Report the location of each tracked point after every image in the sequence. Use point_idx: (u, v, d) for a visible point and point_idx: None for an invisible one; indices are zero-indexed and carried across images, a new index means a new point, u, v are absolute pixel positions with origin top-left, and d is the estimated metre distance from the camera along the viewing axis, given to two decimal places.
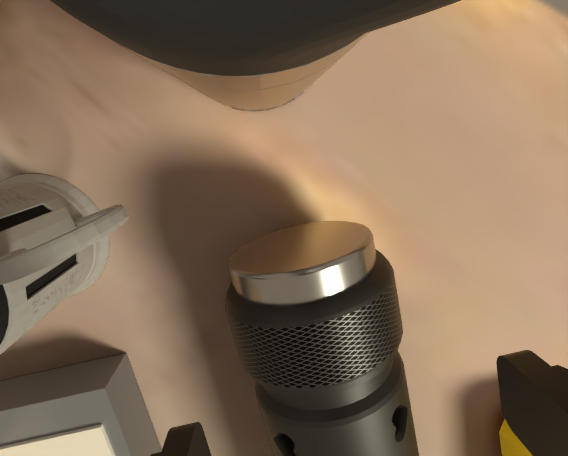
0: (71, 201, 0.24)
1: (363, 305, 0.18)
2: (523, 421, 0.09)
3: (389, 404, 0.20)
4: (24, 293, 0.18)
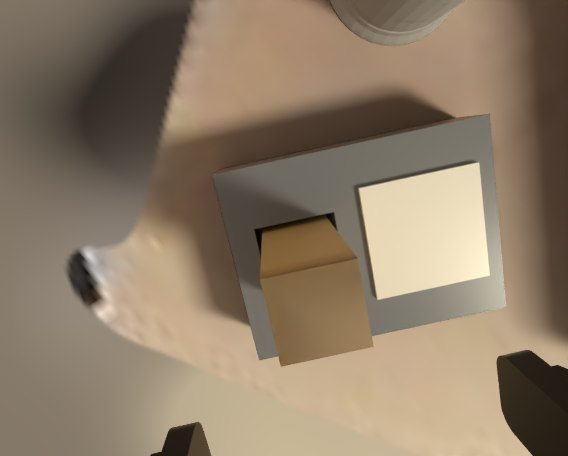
0: None
1: None
2: (523, 421, 0.09)
3: None
4: None
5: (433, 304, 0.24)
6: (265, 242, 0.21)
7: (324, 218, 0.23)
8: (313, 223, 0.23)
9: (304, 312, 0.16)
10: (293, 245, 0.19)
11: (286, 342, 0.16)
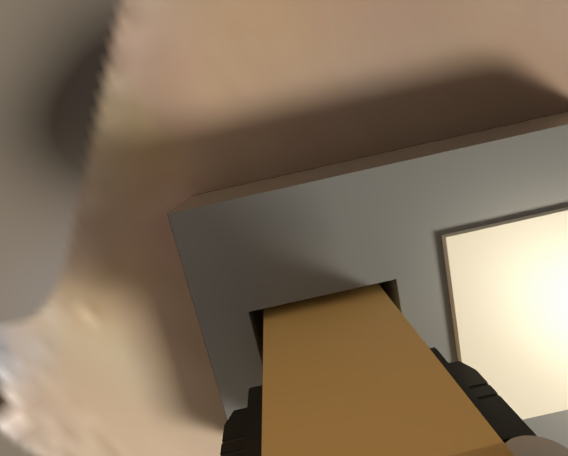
0: None
1: None
2: None
3: None
4: None
5: (565, 433, 0.14)
6: (270, 352, 0.10)
7: (375, 287, 0.13)
8: (358, 300, 0.12)
9: None
10: (333, 380, 0.09)
11: None
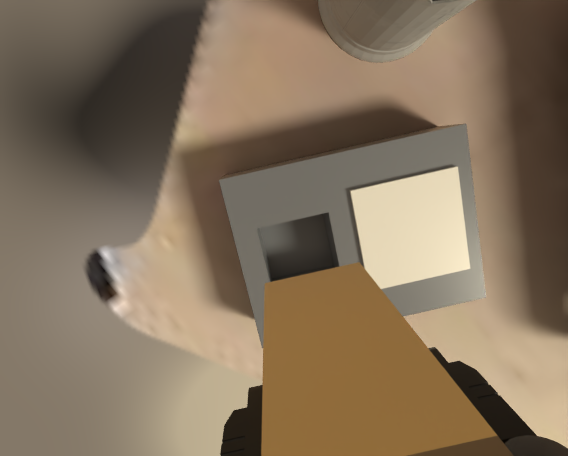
0: None
1: None
2: None
3: None
4: None
5: (420, 295, 0.27)
6: (270, 350, 0.11)
7: (374, 288, 0.13)
8: (357, 300, 0.12)
9: None
10: (331, 377, 0.09)
11: None
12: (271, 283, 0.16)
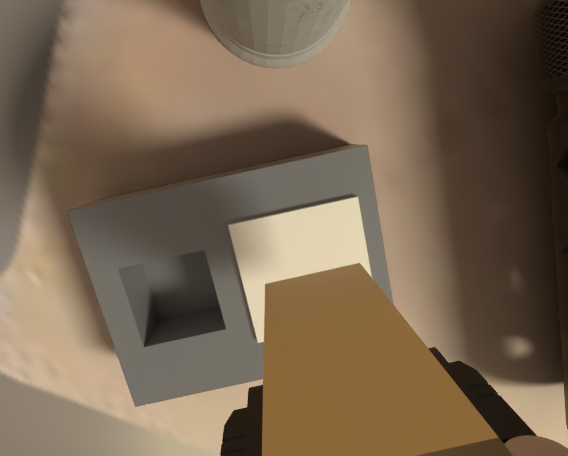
0: None
1: None
2: None
3: None
4: None
5: None
6: (271, 351, 0.11)
7: (375, 288, 0.13)
8: (357, 301, 0.12)
9: None
10: (332, 378, 0.09)
11: None
12: (271, 284, 0.16)
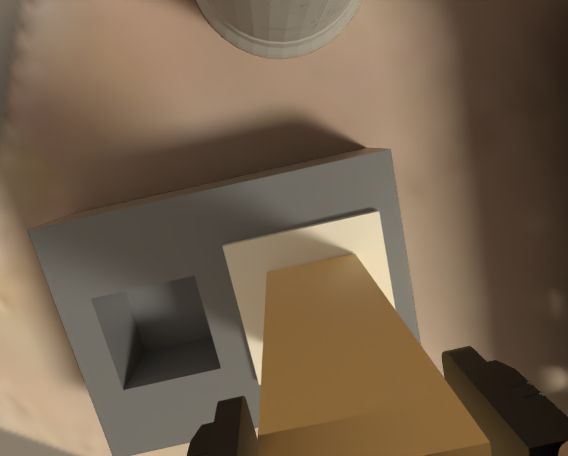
0: None
1: None
2: None
3: None
4: None
5: None
6: (270, 330, 0.12)
7: (366, 276, 0.14)
8: (350, 287, 0.14)
9: None
10: (322, 351, 0.10)
11: None
12: (273, 272, 0.17)
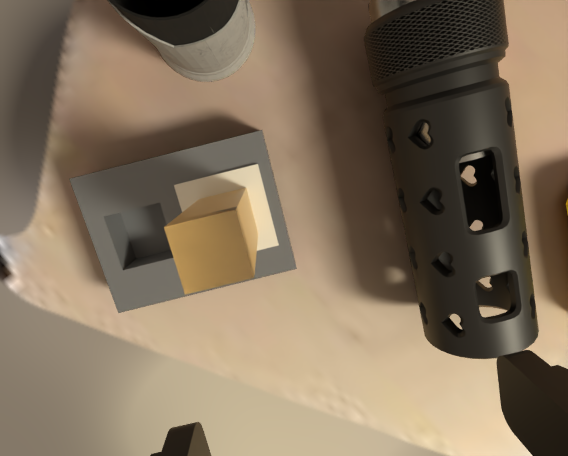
0: None
1: None
2: (523, 421, 0.09)
3: (503, 88, 0.26)
4: None
5: None
6: (187, 209, 0.26)
7: (242, 192, 0.29)
8: (231, 195, 0.28)
9: (199, 252, 0.21)
10: (204, 208, 0.25)
11: (187, 275, 0.22)
12: (201, 198, 0.32)
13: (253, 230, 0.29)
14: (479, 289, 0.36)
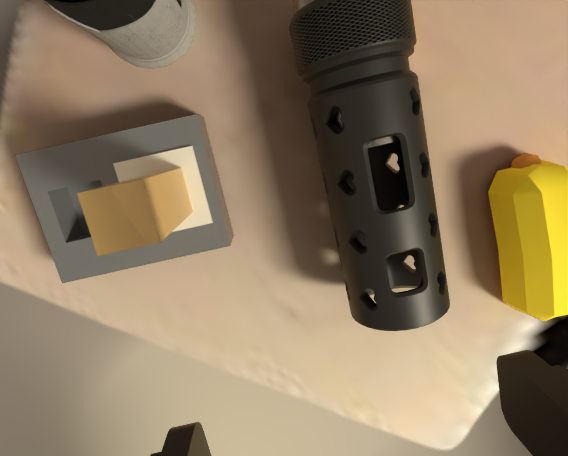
0: None
1: None
2: (523, 421, 0.09)
3: (407, 79, 0.29)
4: None
5: (178, 243, 0.36)
6: (115, 183, 0.29)
7: (171, 170, 0.31)
8: None
9: (110, 217, 0.24)
10: (125, 181, 0.27)
11: (99, 238, 0.24)
12: None
13: (181, 205, 0.31)
14: (405, 270, 0.39)
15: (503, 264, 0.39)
